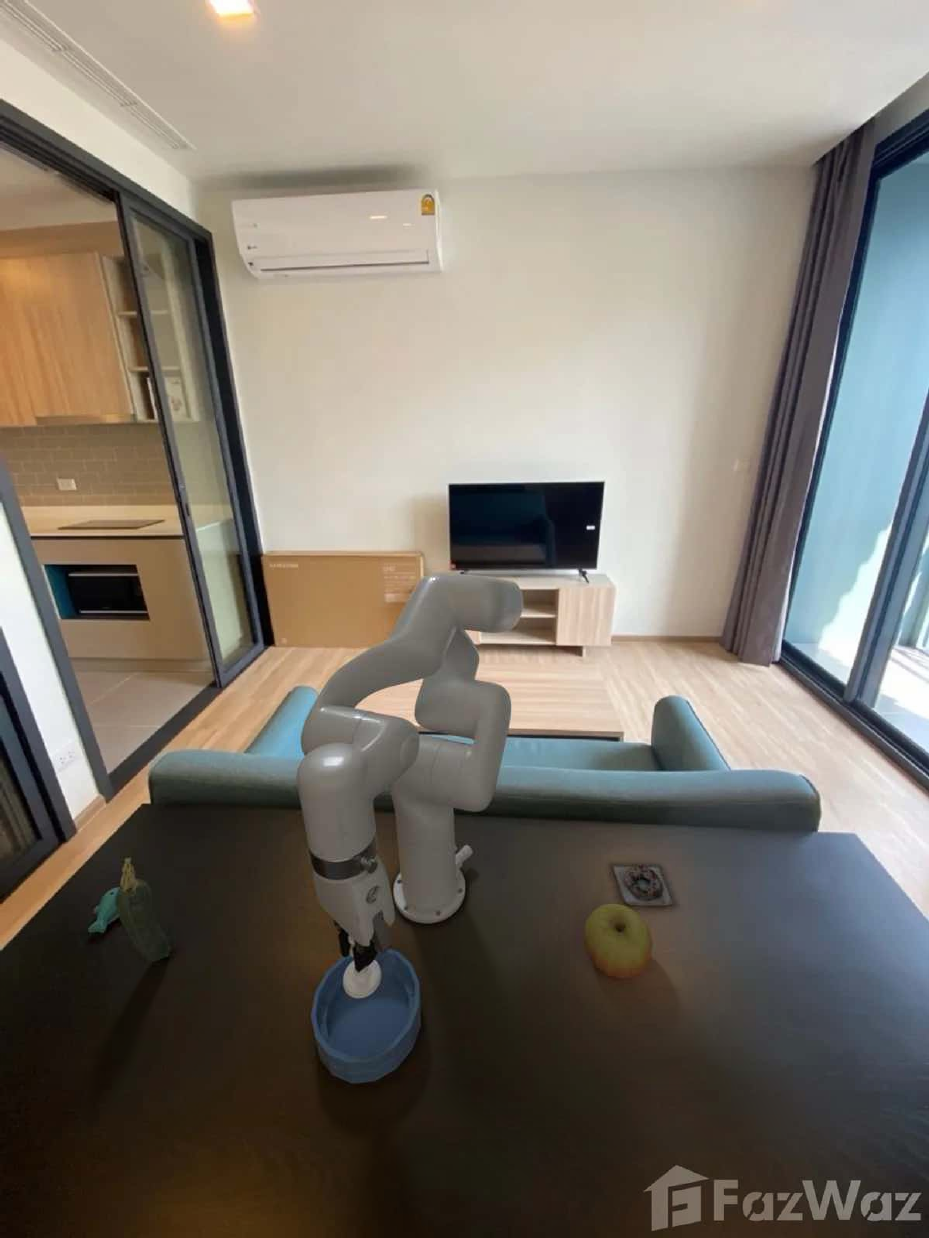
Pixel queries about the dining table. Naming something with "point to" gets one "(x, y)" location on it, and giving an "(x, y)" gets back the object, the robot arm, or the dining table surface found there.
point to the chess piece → (361, 977)
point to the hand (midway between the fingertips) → (359, 954)
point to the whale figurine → (105, 912)
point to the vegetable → (140, 915)
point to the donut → (642, 886)
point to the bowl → (367, 1020)
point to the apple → (618, 941)
